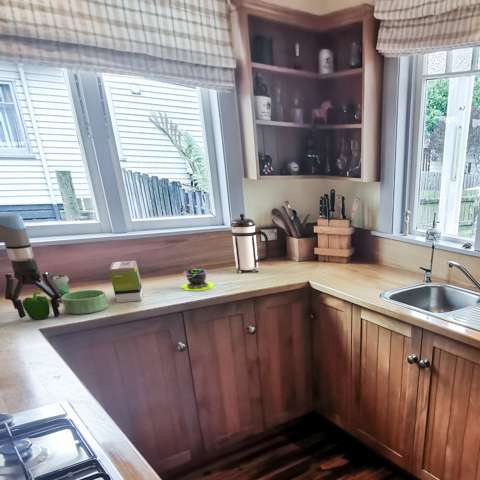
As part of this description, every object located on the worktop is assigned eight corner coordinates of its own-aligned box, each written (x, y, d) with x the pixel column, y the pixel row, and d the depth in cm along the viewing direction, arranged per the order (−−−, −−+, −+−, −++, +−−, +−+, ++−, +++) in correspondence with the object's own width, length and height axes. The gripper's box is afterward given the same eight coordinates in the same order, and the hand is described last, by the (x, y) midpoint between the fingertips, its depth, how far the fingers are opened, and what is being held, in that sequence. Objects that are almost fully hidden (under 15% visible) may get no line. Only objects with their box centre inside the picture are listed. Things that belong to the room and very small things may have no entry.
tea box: (119, 294, 211) (111, 261, 204) (143, 292, 214) (137, 259, 208) (116, 303, 198) (108, 268, 192) (142, 301, 202) (135, 266, 195)
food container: (74, 301, 200) (68, 278, 196) (58, 303, 197) (51, 279, 193) (72, 294, 209) (66, 272, 205) (56, 296, 206) (50, 274, 202)
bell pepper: (31, 323, 174) (22, 297, 170) (24, 318, 179) (16, 292, 175) (56, 317, 180) (49, 292, 175) (49, 313, 185) (42, 288, 180)
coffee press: (248, 275, 247) (242, 216, 234) (227, 271, 254) (220, 213, 242) (271, 269, 260) (267, 213, 247) (251, 265, 268) (246, 211, 255)
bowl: (58, 315, 182) (54, 300, 180) (74, 304, 196) (70, 290, 193) (100, 314, 184) (96, 299, 182) (113, 303, 198) (110, 289, 196)
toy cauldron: (182, 284, 229) (178, 261, 224) (214, 282, 233) (211, 259, 228) (180, 291, 216) (176, 268, 211) (214, 289, 220) (211, 266, 215)
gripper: (62, 256, 175) (77, 312, 184) (-8, 257, 171) (11, 314, 181) (53, 260, 168) (69, 318, 177) (-20, 262, 165) (0, 320, 174)
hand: (40, 316), depth 179 cm, fingers open, 11 cm apart
